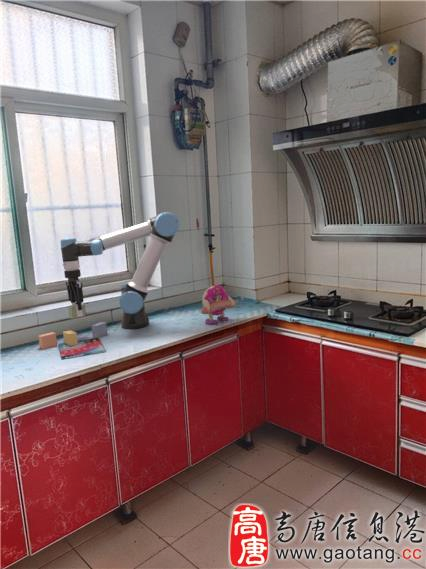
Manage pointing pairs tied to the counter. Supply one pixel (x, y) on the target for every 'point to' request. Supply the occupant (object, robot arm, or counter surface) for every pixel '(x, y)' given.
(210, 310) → the toy
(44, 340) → the terracotta brick
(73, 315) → the green brick
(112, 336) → the counter surface
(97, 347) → the magazine
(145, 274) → the robot arm
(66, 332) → the mustard brick
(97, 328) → the slate brick
